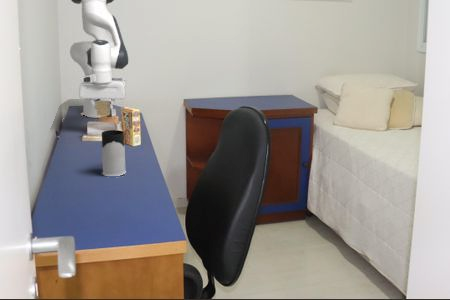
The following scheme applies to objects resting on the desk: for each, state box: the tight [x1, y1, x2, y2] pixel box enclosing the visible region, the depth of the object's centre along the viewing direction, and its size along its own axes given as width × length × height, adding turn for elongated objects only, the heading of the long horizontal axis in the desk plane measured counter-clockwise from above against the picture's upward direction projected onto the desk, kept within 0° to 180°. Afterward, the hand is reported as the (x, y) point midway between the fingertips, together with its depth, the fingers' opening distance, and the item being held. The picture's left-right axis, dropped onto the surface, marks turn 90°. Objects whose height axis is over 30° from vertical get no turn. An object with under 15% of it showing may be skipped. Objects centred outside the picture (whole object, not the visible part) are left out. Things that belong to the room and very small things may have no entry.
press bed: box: [81, 121, 122, 142], centre depth 245 cm, size 24×16×8 cm, turn 1°
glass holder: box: [101, 130, 127, 176], centre depth 190 cm, size 9×14×15 cm, turn 15°
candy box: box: [120, 106, 142, 147], centre depth 228 cm, size 9×4×15 cm, turn 44°
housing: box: [96, 101, 110, 116], centre depth 239 cm, size 4×5×6 cm
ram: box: [98, 101, 120, 129], centre depth 250 cm, size 6×8×12 cm
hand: (103, 108), depth 239 cm, fingers closed on housing, 5 cm apart
